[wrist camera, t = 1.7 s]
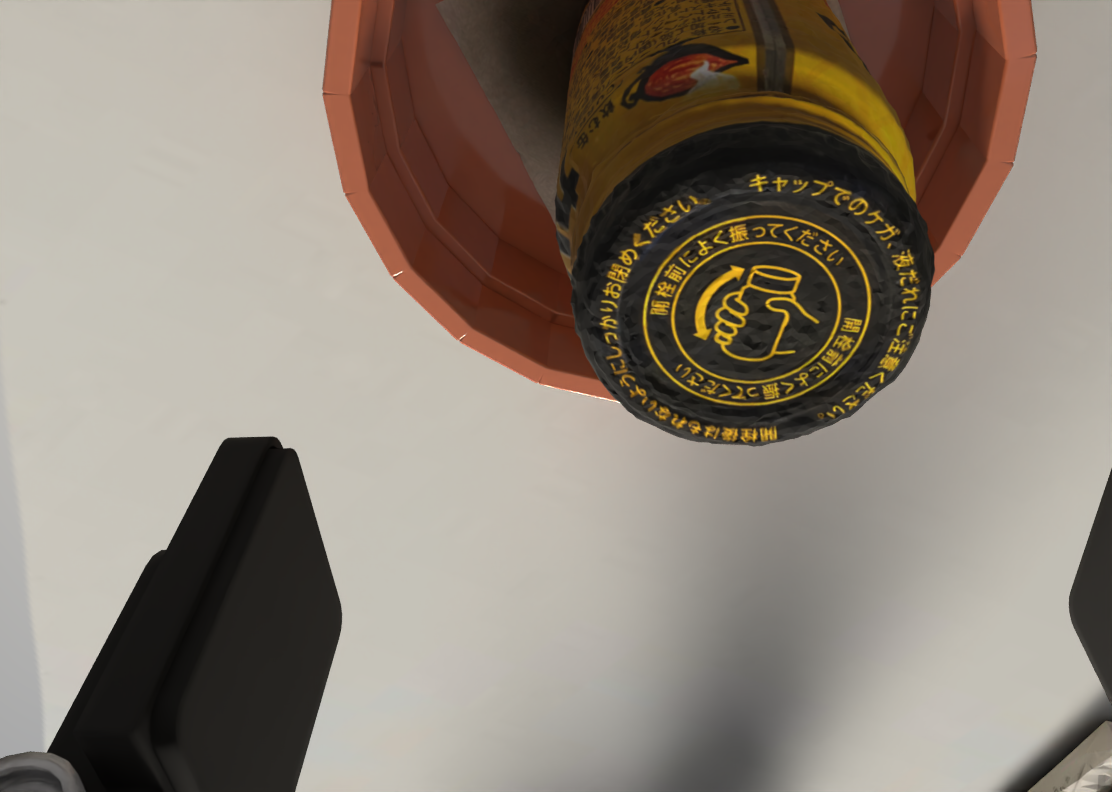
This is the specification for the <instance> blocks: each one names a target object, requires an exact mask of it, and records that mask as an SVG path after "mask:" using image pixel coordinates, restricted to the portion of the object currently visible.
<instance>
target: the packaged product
mask: <svg viewBox="0 0 1112 792" xmlns="http://www.w3.org/2000/svg"><path fill="white" fill-rule="evenodd" d="M1027 792H1112V722H1109V721H1105V722H1104V723H1103V724H1102V725H1101V726H1100V727H1098V728H1097V729H1096V730H1095V731H1094V732H1093V733H1092V734H1091V735H1090V736H1089V737H1088V738H1086V739H1085V740H1084V741H1083V742H1082V743H1081V744H1080V745H1079V746H1078V747H1077V748H1075V749H1074V750H1073V751H1072V752H1071V753H1070V754H1069V755H1068V756H1067V757H1066V758H1064V759H1063V760H1062V761H1061V762H1060V763H1059V764H1058V765H1057V766H1056V767H1055V768H1054V769H1052V770H1051V771H1050V772H1049V773H1048V774H1047V775H1046V776H1045V777H1043V778H1042V779H1041V780H1040V781H1039V782H1038V783H1037V784H1035V785H1034V786H1033V787H1032V788H1031V789H1030V790H1029V791H1027Z"/></svg>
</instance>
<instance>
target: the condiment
mask: <svg viewBox="0 0 1112 792" xmlns="http://www.w3.org/2000/svg"><path fill="white" fill-rule="evenodd" d="M435 5H436V7H437V9H438V10H439V12H440V14H441V16H442V18H443V19H444V21H445V23H446V25H447V27H448V29H449V30H450V32H451V34H452V35H453V37H454V38H455V40H456V41H457V43H458V45H459V47H460V49H461V51H462V53H463V54H464V56H465V58H466V60H467V62H468V63H469V65H470V67H471V69H472V71H473V72H474V74H475V76H476V78H477V80H478V82H479V84H480V86H481V87H482V89H483V91H484V93H485V95H486V96H487V98H488V100H489V102H490V103H491V105H492V107H493V109H494V110H495V112H496V114H497V116H498V118H499V120H500V122H501V124H502V125H503V127H504V129H505V131H506V133H507V135H508V137H509V139H510V141H511V142H512V144H513V146H514V148H515V150H516V151H517V152H518V153H519V154H520V157H521V160H522V162H523V164H524V166H525V168H526V170H527V172H528V175H529V176H530V178H531V180H532V181H533V183H534V186H535V188H536V190H537V192H538V193H539V195H540V197H541V198H542V200H543V202H544V204H545V206H546V207H547V209H548V211H549V213H550V215H551V217H552V220H553V222H554V224H555V225H556V239H557V242H558V245H559V250H560V254H561V256H562V259H563V261H564V264H565V267H566V269H567V273H568V276H569V278H570V280H571V281H570V282H571V285H572V287H573V288H572V295H571V302H570V303H571V306H572V309H573V310H572V313H573V315H574V319H575V326H574V327H575V332H576V334H577V335H578V336H579V337H580V339H581V344H582V347H583V350H584V353H585V356H586V357H587V359H588V361H589V363H590V364H591V366H592V368H593V369H594V372H595V373H596V375H597V377H598V379H599V380H600V382H601V383H602V384H603V385H604V387H605V388H606V389H607V390H608V392H609V393H610V394H611V395H612V396H613V397H614V399H616V400H617V401H618V402H620V403H621V404H622V405H623V406H624V407H625V408H626V410H627V411H629V412H630V413H632V414H633V415H634V416H635V417H636V418H638V419H640V420H642V421H644V422H647V423H649V424H651V425H653V426H655V427H657V428H659V429H661V430H663V431H665V432H668V433H670V434H673V435H675V436H677V437H680V438H684V439H687V440H690V441H696V442H709V443H713V444H732V445H749V446H763V445H766V444H769V443H775V442H781V441H785V440H789V439H795V438H798V437H800V436H802V435H808V434H810V433H812V432H814V431H817V430H819V429H822V428H824V427H827V426H830V425H833V424H835V423H836V422H838V421H840V420H841V419H844V418H848V417H850V416H851V415H853V414H854V413H855V412H856V411H857V410H859V409H860V408H861V407H862V406H863V405H864V404H865V403H866V402H867V401H868V400H869V399H871V398H872V397H873V396H874V395H875V394H876V393H878V392H879V391H880V390H882V389H883V388H885V387H886V386H887V385H889V384H890V383H892V382H893V381H895V379H896V378H897V377H898V376H899V374H900V373H901V372H902V371H903V369H904V368H905V366H906V365H907V363H908V361H909V360H910V358H911V356H912V354H913V352H914V350H915V348H916V346H917V344H918V343H919V340H920V336H921V332H922V329H923V327H924V324H925V322H926V318H927V314H928V310H929V307H930V297H931V284H932V280H933V276H934V273H935V265H934V260H935V255H934V252H933V248H932V246H931V244H930V240H929V237H928V227H927V223H926V221H925V220H924V219H923V218H922V216H921V214H920V212H919V211H918V209H917V205H916V189H915V177H914V167H913V157H912V154H911V150H910V145H909V141H908V139H907V137H906V135H905V132H904V129H903V128H902V127H901V123H900V120H899V118H898V115H897V113H896V111H895V109H894V108H893V107H892V106H891V105H890V104H889V102H888V101H887V99H886V97H885V95H884V93H883V92H882V90H881V88H880V86H879V84H878V83H877V82H876V81H875V79H874V78H873V77H872V76H871V74H870V72H869V70H868V68H867V66H866V65H865V63H864V62H863V61H862V60H861V58H860V57H859V56H858V54H857V52H856V50H855V48H854V46H853V45H852V43H851V40H850V37H849V34H848V31H847V27H846V24H845V20H844V17H843V15H842V11H841V8H840V5H839V2H838V0H443V1H441V2H439V3H437V4H435Z"/></svg>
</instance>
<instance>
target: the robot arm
mask: <svg viewBox="0 0 1112 792" xmlns="http://www.w3.org/2000/svg"><path fill="white" fill-rule="evenodd" d="M1069 612H1070V617H1071V621H1072V624H1073V626H1074V629H1075V631H1076V633H1077V635H1078V637H1079V639H1080V641H1081V643H1082V645H1083V647H1084V649H1085V651H1086V653H1087V656H1088V658H1089V660H1090V662H1091V664H1092V666H1093V668H1094V670H1095V672H1096V674H1097V676H1098V678H1099V680H1100V682H1101V684H1102V686H1103V688H1104V690H1105V692H1106V694H1107V697H1108V699H1109V701H1110V703H1111V705H1112V469H1111V472H1110V475H1109V478H1108V481H1107V484H1106V487H1105V490H1104V493H1103V496H1102V499H1101V502H1100V505H1099V508H1098V511H1097V514H1096V517H1095V520H1094V523H1093V526H1092V529H1091V532H1090V535H1089V538H1088V541H1087V544H1086V547H1085V550H1084V553H1083V556H1082V559H1081V562H1080V565H1079V568H1078V571H1077V574H1076V577H1075V580H1074V583H1073V586H1072V589H1071V592H1070V596H1069ZM341 625H342V610H341V604H340V600H339V596H338V593H337V589H336V586H335V582H334V579H333V576H332V572H331V569H330V565H329V562H328V558H327V555H326V551H325V548H324V544H323V541H322V538H321V534H320V531H319V527H318V524H317V520H316V517H315V513H314V510H313V506H312V503H311V500H310V496H309V493H308V489H307V486H306V482H305V479H304V475H303V472H302V468H301V465H300V462H299V458H298V456H297V453H296V452H295V450H294V449H291V448H284V449H283V447H282V445H281V442H280V441H279V440H278V439H277V438H276V437H239V438H227V439H225V440H224V441H223V442H222V444H221V445H220V447H219V449H218V451H217V453H216V455H215V457H214V459H213V461H212V462H211V464H210V466H209V468H208V470H207V472H206V474H205V476H204V478H203V480H202V482H201V484H200V486H199V488H198V490H197V492H196V493H195V495H194V497H193V499H192V501H191V503H190V505H189V507H188V509H187V511H186V513H185V515H184V517H183V519H182V521H181V523H180V524H179V526H178V528H177V530H176V532H175V534H174V536H173V538H172V540H171V542H170V544H169V546H168V548H167V550H161V551H159V552H158V553H156V554H155V555H153V556H152V558H151V559H150V561H149V562H148V564H147V565H146V566H145V568H144V570H143V572H142V574H141V576H140V578H139V580H138V581H137V583H136V585H135V587H134V589H133V591H132V593H131V595H130V597H129V598H128V600H127V602H126V604H125V606H124V608H123V610H122V612H121V614H120V615H119V617H118V619H117V621H116V623H115V625H114V627H113V629H112V631H111V632H110V634H109V636H108V638H107V640H106V642H105V644H104V646H103V648H102V649H101V651H100V653H99V655H98V657H97V659H96V661H95V663H94V664H93V666H92V668H91V670H90V672H89V674H88V676H87V678H86V680H85V681H84V683H83V685H82V687H81V689H80V691H79V693H78V695H77V697H76V698H75V700H74V702H73V704H72V706H71V708H70V710H69V712H68V714H67V715H66V717H65V719H64V721H63V723H62V725H61V727H60V729H59V731H58V732H57V734H56V736H55V738H54V740H53V742H52V744H51V746H50V747H49V749H48V751H47V753H43V752H26V753H20V754H15V755H10V756H6V757H4V758H1V759H0V792H295V790H296V786H297V783H298V779H299V776H300V772H301V769H302V765H303V762H304V758H305V755H306V751H307V748H308V744H309V741H310V738H311V734H312V731H313V727H314V724H315V720H316V717H317V713H318V710H319V706H320V703H321V699H322V696H323V692H324V689H325V685H326V682H327V678H328V675H329V671H330V668H331V664H332V661H333V658H334V654H335V651H336V647H337V644H338V640H339V637H340V632H341Z"/></svg>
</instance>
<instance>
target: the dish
mask: <svg viewBox="0 0 1112 792" xmlns="http://www.w3.org/2000/svg"><path fill="white" fill-rule="evenodd" d="M441 1H443V0H332V1H331V10H330V20H329V30H328V39H327V49H326V58H325V68H324V78H323V87H322V89H323V100H324V104H325V109H326V114H327V118H328V123H329V128H330V132H331V137H332V142H333V146H334V151H335V155H336V160H337V165H338V169H339V174H340V179H341V183H342V188H343V192H344V193H345V196H346V198H347V200H348V201H349V203H350V205H351V207H352V208H353V210H354V212H355V214H356V215H357V217H358V219H359V221H360V223H361V224H362V226H363V228H364V230H365V231H366V233H367V235H368V237H369V238H370V240H371V242H372V244H373V245H374V247H375V249H376V251H377V252H378V254H379V256H380V258H381V260H382V261H383V263H384V265H385V267H386V268H387V270H388V272H389V274H390V275H391V276H393V279H394V280H395V281H396V282H397V283H398V284H399V285H400V286H401V287H402V288H403V289H404V290H405V291H406V292H407V293H408V294H409V295H410V296H411V297H412V298H413V299H414V300H416V301H417V302H418V303H419V304H420V305H421V306H422V307H423V308H424V309H425V310H426V311H427V312H428V313H429V314H430V315H431V316H432V317H433V318H434V319H435V320H436V321H437V322H438V323H439V324H441V325H442V326H443V327H444V328H445V329H446V330H447V331H448V332H449V333H450V334H451V335H452V336H453V337H454V338H455V339H456V340H459V341H460V343H462V344H464V345H466V346H467V347H469V348H471V349H473V350H475V351H477V352H479V353H481V354H483V355H484V356H486V357H488V358H490V359H492V360H494V361H496V362H498V363H499V364H501V365H503V366H505V367H507V368H509V369H511V370H513V371H514V372H516V373H518V374H520V375H522V376H524V377H526V378H528V379H529V380H531V381H533V382H535V383H538V382H539V384H540V385H544V386H549V387H553V388H557V389H562V390H566V391H570V392H575V393H579V394H583V395H588V396H592V397H596V398H601V399H605V400H609V401H614V402H618V401H617V400H616V399H614V397H613V396H612V395H611V394H610V393H609V392H608V390H607V389H606V388H605V387H604V385H603V384H602V383H601V382H600V380H599V379H598V377H597V375H596V373H595V372H594V369H593V368H592V366H591V364H590V363H589V361H588V359H587V357H586V356H585V353H584V350H583V347H582V344H581V339H580V337H579V336H578V335H577V334H576V332H575V327H574V326H575V319H574V315H573V313H572V310H573V309H572V306H571V303H570V302H571V295H572V288H573V287H572V285H571V282H570V281H571V280H570V278H569V276H568V273H567V269H566V267H565V264H564V261H563V259H562V256H561V254H560V250H559V245H558V242H557V239H556V225H555V224H554V222H553V220H552V217H551V215H550V213H549V211H548V209H547V207H546V206H545V204H544V202H543V200H542V198H541V197H540V195H539V193H538V192H537V190H536V188H535V186H534V183H533V181H532V180H531V178H530V176H529V175H528V172H527V170H526V168H525V166H524V164H523V162H522V160H521V157H520V154H519V153H518V152H517V151H516V150H515V148H514V146H513V144H512V142H511V141H510V139H509V137H508V135H507V133H506V131H505V129H504V127H503V125H502V124H501V122H500V120H499V118H498V116H497V114H496V112H495V110H494V109H493V107H492V105H491V103H490V102H489V100H488V98H487V96H486V95H485V93H484V91H483V89H482V87H481V86H480V84H479V82H478V80H477V78H476V76H475V74H474V72H473V71H472V69H471V67H470V65H469V63H468V62H467V60H466V58H465V56H464V54H463V53H462V51H461V49H460V47H459V45H458V43H457V41H456V40H455V38H454V37H453V35H452V34H451V32H450V30H449V29H448V27H447V25H446V23H445V21H444V19H443V18H442V16H441V14H440V12H439V10H438V9H437V7H436V5H435V4H437V3H439V2H441ZM838 2H839V5H840V8H841V11H842V15H843V17H844V20H845V24H846V27H847V31H848V34H849V37H850V40H851V43H852V45H853V46H854V48H855V50H856V52H857V54H858V56H859V57H860V58H861V60H862V61H863V62H864V63H865V65H866V66H867V68H868V70H869V72H870V74H871V76H872V77H873V78H874V79H875V81H876V82H877V83H878V84H879V86H880V88H881V90H882V92H883V93H884V95H885V97H886V99H887V101H888V102H889V104H890V105H891V106H892V107H893V108H894V109H895V111H896V113H897V115H898V118H899V120H900V123H901V127H902V128H903V129H904V132H905V135H906V137H907V139H908V141H909V145H910V150H911V154H912V157H913V167H914V177H915V189H916V205H917V209H918V211H919V212H920V214H921V216H922V218H923V219H924V220H925V221H926V223H927V227H928V237H929V240H930V244H931V246H932V248H933V252H934V255H935V260H934V265H935V273H934V276H933V280H932V284H931V287H932V286H933V285H934V284H935V283H936V282H937V281H938V280H939V279H940V278H941V277H942V276H943V275H944V274H945V273H946V272H947V271H948V270H949V269H950V268H951V267H952V266H953V265H954V264H955V263H956V262H957V261H958V260H959V259H960V258H961V256H962V255H963V254H964V252H965V250H966V249H967V247H968V245H969V243H970V241H971V240H972V238H973V236H974V234H975V233H976V231H977V229H978V227H979V225H980V224H981V222H982V220H983V218H984V217H985V215H986V213H987V211H988V209H989V208H990V206H991V204H992V202H993V200H994V199H995V197H996V195H997V193H998V192H999V190H1000V188H1001V186H1002V184H1003V183H1004V181H1005V179H1006V177H1007V176H1008V174H1009V172H1010V170H1011V168H1012V167H1013V162H1014V160H1015V156H1016V151H1017V147H1018V142H1019V137H1020V133H1021V128H1022V123H1023V119H1024V114H1025V109H1026V105H1027V100H1028V95H1029V91H1030V86H1031V81H1032V77H1033V72H1034V67H1035V63H1036V58H1037V55H1036V52H1037V44H1036V36H1035V27H1034V19H1033V11H1032V3H1031V0H838ZM618 403H620V402H618Z"/></svg>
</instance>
